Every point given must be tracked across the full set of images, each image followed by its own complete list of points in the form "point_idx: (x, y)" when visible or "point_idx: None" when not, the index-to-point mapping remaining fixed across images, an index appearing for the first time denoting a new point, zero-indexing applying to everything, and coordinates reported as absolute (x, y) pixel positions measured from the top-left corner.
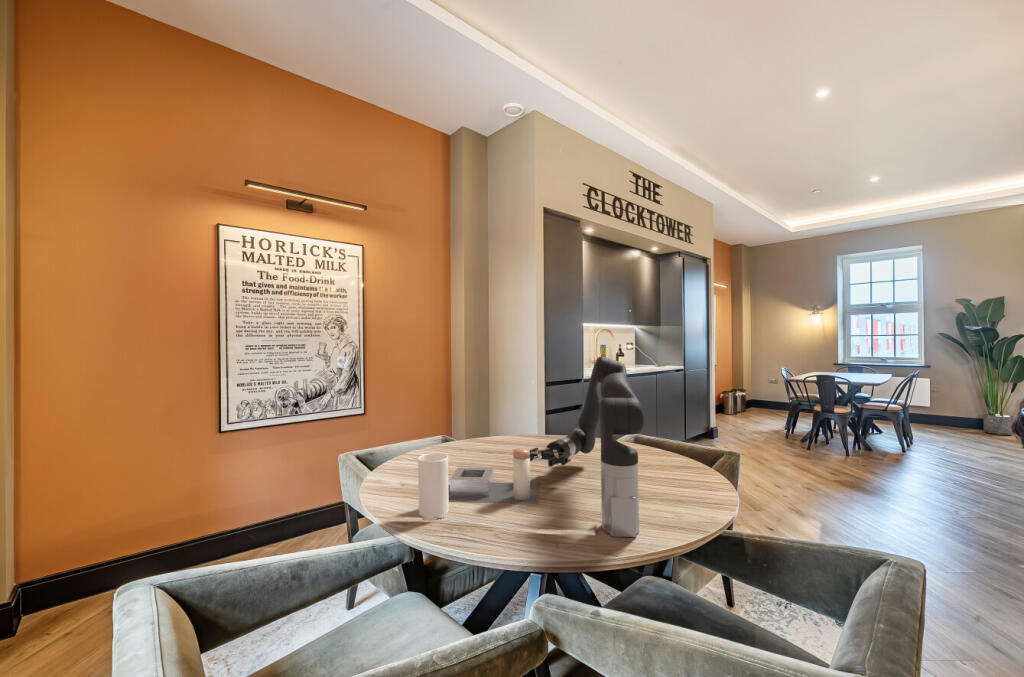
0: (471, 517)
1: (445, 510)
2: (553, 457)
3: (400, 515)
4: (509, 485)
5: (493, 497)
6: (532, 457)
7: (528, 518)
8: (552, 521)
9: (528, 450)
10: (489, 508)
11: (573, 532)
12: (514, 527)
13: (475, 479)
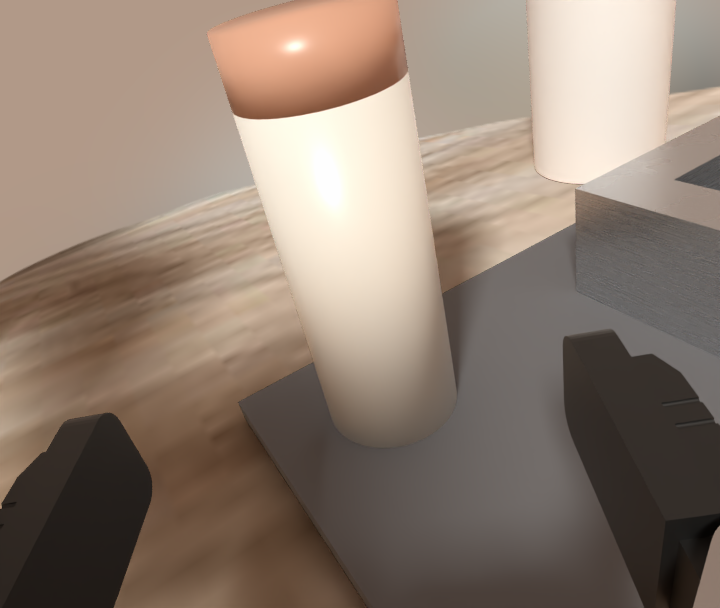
0: (460, 214)
1: (536, 146)
2: (10, 569)
3: (671, 114)
4: None
5: (542, 301)
6: (639, 548)
7: (239, 322)
8: (120, 364)
9: (227, 32)
10: (473, 274)
11: (16, 357)
12: (259, 264)
13: (654, 155)
